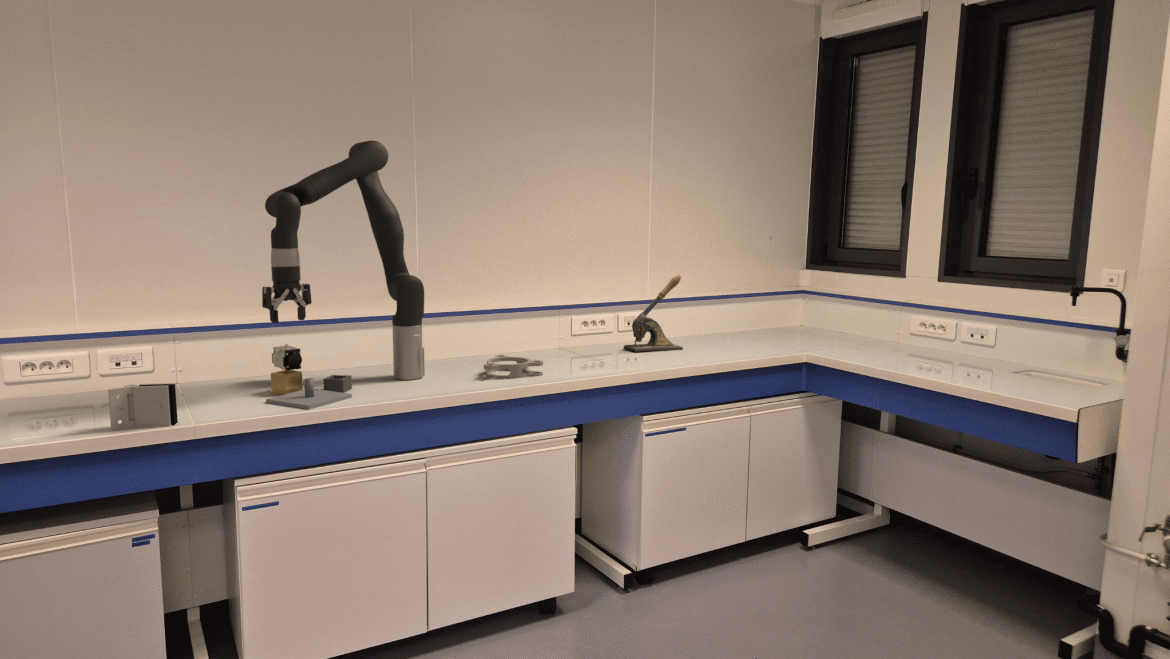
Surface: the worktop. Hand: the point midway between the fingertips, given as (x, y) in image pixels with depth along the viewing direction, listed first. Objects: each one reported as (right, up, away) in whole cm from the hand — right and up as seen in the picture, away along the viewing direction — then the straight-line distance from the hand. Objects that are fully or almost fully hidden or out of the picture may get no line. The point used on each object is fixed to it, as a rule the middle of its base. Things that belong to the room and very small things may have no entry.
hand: (288, 321), depth 214 cm
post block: (+7, -22, -3) cm, 23 cm away
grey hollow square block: (+11, -20, +10) cm, 25 cm away
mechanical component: (+58, -18, +39) cm, 72 cm away
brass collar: (-3, -21, +7) cm, 22 cm away
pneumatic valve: (-8, -19, +20) cm, 29 cm away
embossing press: (+112, -11, +90) cm, 144 cm away
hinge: (-23, -26, -31) cm, 47 cm away
